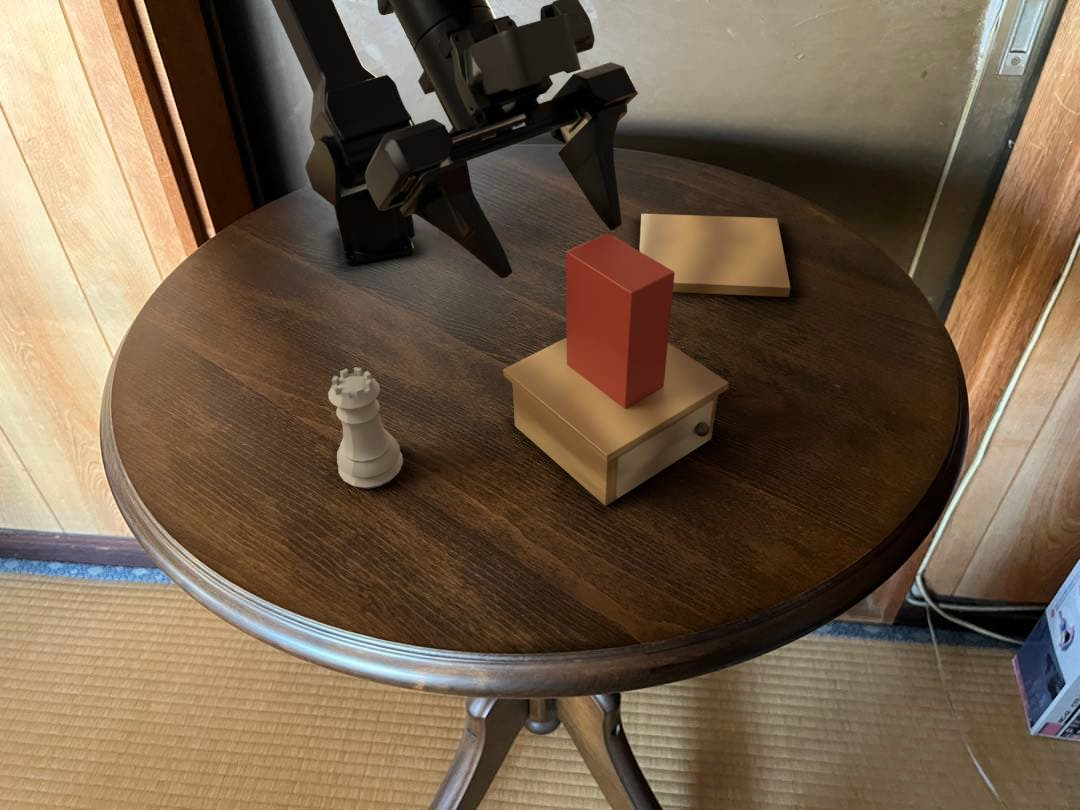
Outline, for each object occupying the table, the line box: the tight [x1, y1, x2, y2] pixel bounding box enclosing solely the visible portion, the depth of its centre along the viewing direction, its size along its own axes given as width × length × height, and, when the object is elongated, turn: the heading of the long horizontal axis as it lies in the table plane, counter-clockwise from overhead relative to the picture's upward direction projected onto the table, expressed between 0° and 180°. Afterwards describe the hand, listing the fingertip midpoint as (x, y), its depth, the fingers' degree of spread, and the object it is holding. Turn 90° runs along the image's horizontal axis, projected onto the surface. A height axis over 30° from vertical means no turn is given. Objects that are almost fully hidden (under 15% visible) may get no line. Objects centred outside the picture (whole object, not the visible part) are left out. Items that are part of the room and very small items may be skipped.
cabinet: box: [502, 337, 730, 507], centre depth 58 cm, size 11×12×5 cm
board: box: [638, 213, 791, 298], centre depth 77 cm, size 13×12×1 cm
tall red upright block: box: [565, 232, 675, 409], centre depth 53 cm, size 4×6×9 cm, turn 38°
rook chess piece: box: [327, 367, 404, 490], centre depth 55 cm, size 4×4×8 cm
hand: (564, 250), depth 55 cm, fingers open, 9 cm apart
